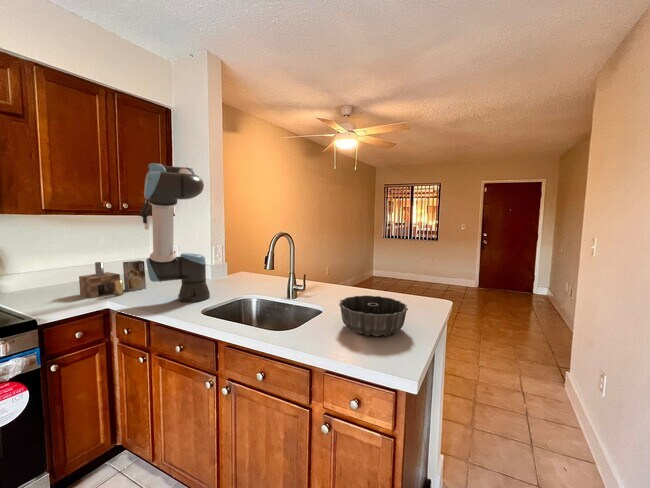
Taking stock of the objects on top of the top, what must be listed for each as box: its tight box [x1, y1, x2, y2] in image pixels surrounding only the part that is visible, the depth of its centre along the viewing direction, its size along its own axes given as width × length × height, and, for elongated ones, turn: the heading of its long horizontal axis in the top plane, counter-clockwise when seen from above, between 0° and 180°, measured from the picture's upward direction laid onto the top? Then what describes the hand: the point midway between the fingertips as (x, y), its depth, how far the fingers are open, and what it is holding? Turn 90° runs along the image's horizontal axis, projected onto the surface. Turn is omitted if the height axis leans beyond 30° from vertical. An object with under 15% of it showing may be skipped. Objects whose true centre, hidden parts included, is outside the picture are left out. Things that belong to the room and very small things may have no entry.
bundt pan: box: [338, 295, 409, 337], centre depth 122 cm, size 26×26×10 cm
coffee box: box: [122, 260, 147, 292], centre depth 178 cm, size 9×6×16 cm
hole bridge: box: [78, 271, 121, 299], centre depth 168 cm, size 12×14×10 cm
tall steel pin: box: [94, 261, 106, 295], centre depth 168 cm, size 4×4×17 cm
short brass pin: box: [114, 279, 124, 297], centre depth 165 cm, size 4×4×8 cm
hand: (158, 228), depth 179 cm, fingers open, 13 cm apart
